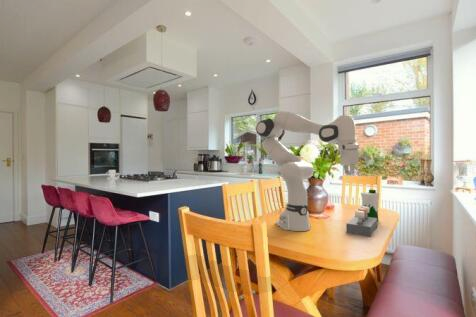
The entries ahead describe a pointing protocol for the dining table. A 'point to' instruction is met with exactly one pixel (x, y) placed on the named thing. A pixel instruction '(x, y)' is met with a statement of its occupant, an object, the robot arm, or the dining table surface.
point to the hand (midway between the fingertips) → (349, 174)
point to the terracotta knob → (363, 211)
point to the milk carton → (371, 203)
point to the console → (362, 226)
